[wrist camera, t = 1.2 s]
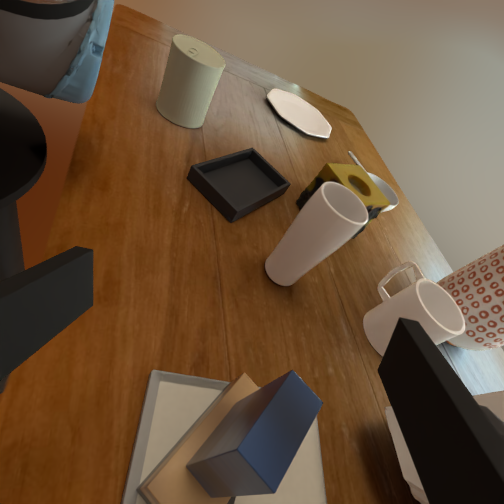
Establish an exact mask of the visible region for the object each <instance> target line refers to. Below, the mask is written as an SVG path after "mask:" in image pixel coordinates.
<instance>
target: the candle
mask: <svg viewBox="0 0 504 504" xmlns="http://www.w3.org/2000/svg"><path fill="white" fill-rule="evenodd" d="M325 182H336V183H339V184H341V185H343V186H345V187H346V188H348V189H349V190H351V191H352V192H353V193H354V194H356V195H357V196H358V197H359V199H360V200H361V201H362V202H363V204H364V205H365V207H366V209H367V211H368V221H367V223H366V224H365V225H364V226H363V227H362V228H361V229H360V230H359V231H358V232H357V233H356V234H355V235H354V236H353V237H352V238H353V239H354V238H355V237H356V236H357V235H358V234H359V233H361V232H362V231H363V230H364V229H365V227H366V226H367V225H368V224H369V223H370V222H371V221H372V220H373V219H374V218H376V217H377V216H378V214H379V213H380V212H381V211H383V210H384V209H386V208H387V207H388V206H389V205H391V204H390V202H389V200H388V199H387V198H386V197H385V196H384V194H383V193H382V192H381V190H380V189H379V188H378V187H377V185H376V184H375V183H374V182H373V180H372V179H371V178H370V176H369V175H368V174H367V173H366V171H365V170H364V169H363V167H362V166H361V165H347V164H336V163H326V164H325V166H324V167H323V169H322V170H321V171H320V172H319V174H318V175H317V176H316V177H315V178H314V180H313V181H312V182H311V183H310V185H309V186H308V187H307V188H306V189H305V190H304V191H303V192H302V193H301V195H300V197H299V199H298V200H297V201H296V203H297V205H298V206H299V208H300V210H301V209H302V208H303V206H304V205H305V204H306V202H307V201H308V200H309V199H310V198H311V196H312V195H313V194H314V193H315V192H316V191H317V190H318V189H319V188H320V186H321V185H322V184H323V183H325Z"/></svg>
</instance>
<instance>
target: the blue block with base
mask: <svg viewBox="0 0 504 504" xmlns="http://www.w3.org/2000/svg"><path fill="white" fill-rule="evenodd" d="M322 404H323V402H322V401H321V400H320V399H319V397H318V396H317V395H316V394H315V393H314V392H313V391H312V390H311V389H310V388H309V387H308V386H307V385H306V383H305V382H304V381H303V380H302V379H301V378H300V377H299V376H298V375H297V374H296V373H295V372H294V371H293V370H291V371H289V372H288V373H286V374H284V375H283V376H281V377H279V378H277V379H276V380H274V381H272V382H271V383H269V384H267V385H265V386H264V387H262V388H260V389H259V388H258V387H257V386H256V385H255V383H254V382H253V381H252V380H251V379H250V378H249V377H248V376H247V375H246V373H243V374H242V375H240V376H239V377H237V378H236V379H235V380H233V381H232V382H230V383H229V384H228V385H227V386H226V387H225V388H224V389H223V390H222V392H221V393H220V394H219V395H218V396H217V397H216V398H215V400H214V401H213V402H212V403H211V404H210V405H209V406H208V408H207V409H206V410H205V411H204V412H203V413H202V414H201V415H200V417H199V418H198V419H197V420H196V421H195V422H194V423H193V425H192V426H191V427H190V428H189V429H188V430H187V431H186V433H185V434H184V435H183V436H182V437H181V438H180V439H179V441H178V442H177V443H176V444H175V445H174V446H173V447H172V449H171V450H170V451H169V452H168V453H167V454H166V455H165V457H164V458H163V459H162V460H161V461H160V462H159V463H158V465H157V466H156V467H155V468H154V469H153V470H152V471H151V473H150V474H149V475H148V476H147V477H146V478H145V479H144V481H143V482H142V483H141V484H140V485H139V486H138V487H137V489H136V491H137V492H138V493H139V495H140V496H141V497H142V498H143V500H144V501H145V502H146V504H227V503H228V501H229V499H230V498H231V497H234V496H248V495H263V494H275V493H276V491H277V489H278V487H279V485H280V483H281V481H282V479H283V478H284V476H285V474H286V472H287V470H288V468H289V466H290V464H291V463H292V461H293V459H294V457H295V455H296V453H297V451H298V449H299V448H300V446H301V444H302V442H303V440H304V438H305V436H306V434H307V433H308V431H309V429H310V427H311V425H312V423H313V421H314V419H315V418H316V416H317V414H318V412H319V410H320V408H321V406H322Z"/></svg>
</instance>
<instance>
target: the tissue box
mask: <svg viewBox="0 0 504 504" xmlns="http://www.w3.org/2000/svg"><path fill="white" fill-rule="evenodd" d="M473 398H474V399H475V400H476V402H477V403H478V404H479V405H482V406H486V407H487V408H489V409H490V410H491V411H492V412H493V413H494V414H495V415H496V416H498V417H499V418H500V419H501V420H502V421H503V422H504V391H498V392H492V393H486V394H480V395H475V396H473ZM385 410H386V411H385V413H386V418H387V423H388V427H389V430H390V432H391V435H392V438H393V442H394V446H395V449H396V453H397V456H398V460H399V463H400V467H401V470H402V473H403V477H404V479H405V480H406V481H407V483H408V484H409V486H410V489H411V493H412V495H413V497H414V498H415V499H416V500H418V501H419V502H420V503H421V504H429V502H428V499H427V497H426V494H425V492H424V489H423V486H422V484H421V481H420V479H419V476H418V473H417V471H416V468H415V466H414V463H413V461H412V458H411V455H410V453H409V450H408V448H407V445H406V442H405V440H404V437H403V435H402V432H401V430H400V427H399V424H398V422H397V419H396V417H395V414H394V411H393V409H392V406H389V407H385Z"/></svg>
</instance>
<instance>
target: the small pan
mask: <svg viewBox="0 0 504 504" xmlns="http://www.w3.org/2000/svg"><path fill="white" fill-rule="evenodd" d="M348 154H349V155H350V157H351V158H352V159H353V161H354V162H355V163H356V165H361V164H360V163H359V161H358V160H357V159H356V157H355V156H354V155H353V153H352V152H351V151H348ZM361 166H362V165H361ZM363 169H364V168H363ZM364 170H365V169H364ZM366 173H367V172H366ZM367 174H368V175H369V176H370V178H371V179H372V180H373V182H374V183H375V184H376V185H377V187H378V188H379V189H380V190H381V192H382V193H383V194H384V196H385V197H386V198H387V199H388V200H389V202H390V204H391V205H389V206H388V207H387V208H386V209H384V210H383V211H381V212H384V211H388V210H391V209H392V208H394V207H395V206H396V205H398V198H397V195H396V194H395V192H394V191H393V190H392V188H391V187H390V186H389V185H388V184H387V183H386V182H384V181H383V180H382V179H380V178H379V177H377V176H376V175H374V174H371V173H367Z"/></svg>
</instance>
